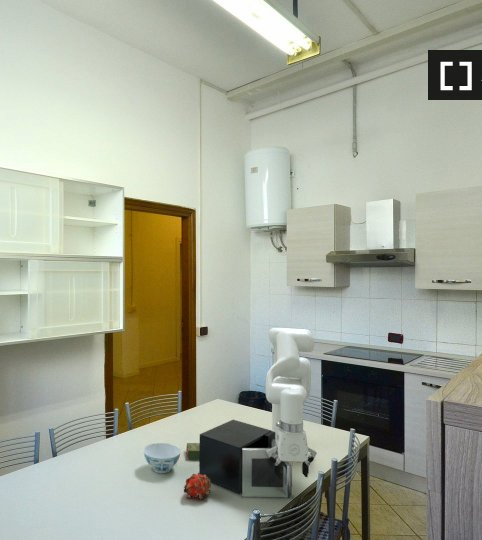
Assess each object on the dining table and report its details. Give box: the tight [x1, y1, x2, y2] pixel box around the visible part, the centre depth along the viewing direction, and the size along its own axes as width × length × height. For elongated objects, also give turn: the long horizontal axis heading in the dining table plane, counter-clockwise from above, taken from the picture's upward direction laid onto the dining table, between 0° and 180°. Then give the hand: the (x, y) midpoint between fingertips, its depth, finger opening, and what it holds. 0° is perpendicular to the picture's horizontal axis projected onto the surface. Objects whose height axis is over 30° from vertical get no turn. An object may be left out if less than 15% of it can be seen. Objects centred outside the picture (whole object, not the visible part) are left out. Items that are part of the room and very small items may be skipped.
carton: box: [185, 442, 200, 461], centre depth 187 cm, size 8×16×4 cm, turn 88°
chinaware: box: [143, 442, 182, 474], centre depth 174 cm, size 15×15×8 cm
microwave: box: [198, 419, 276, 496], centre depth 168 cm, size 20×24×17 cm
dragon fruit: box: [183, 472, 212, 500], centre depth 153 cm, size 8×8×12 cm
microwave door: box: [241, 448, 293, 499], centre depth 151 cm, size 7×18×17 cm, turn 90°
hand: (291, 475), depth 149 cm, fingers open, 9 cm apart
